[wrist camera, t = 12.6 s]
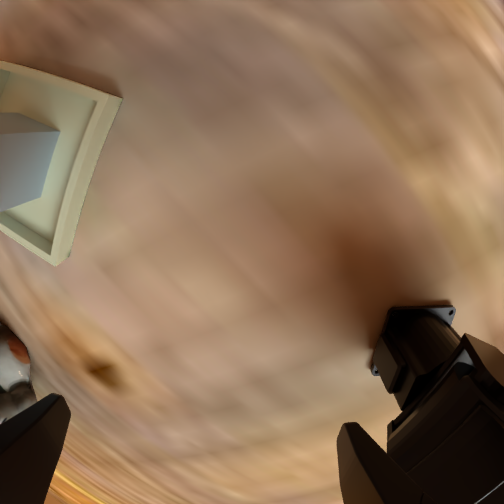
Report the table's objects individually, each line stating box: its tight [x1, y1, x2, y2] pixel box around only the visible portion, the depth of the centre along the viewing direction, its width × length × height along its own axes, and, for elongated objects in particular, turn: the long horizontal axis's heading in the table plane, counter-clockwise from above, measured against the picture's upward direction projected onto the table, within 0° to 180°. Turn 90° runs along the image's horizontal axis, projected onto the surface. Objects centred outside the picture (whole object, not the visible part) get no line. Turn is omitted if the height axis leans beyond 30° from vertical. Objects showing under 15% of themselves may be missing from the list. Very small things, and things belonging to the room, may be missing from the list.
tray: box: [0, 60, 123, 267], centre depth 17 cm, size 12×12×2 cm
